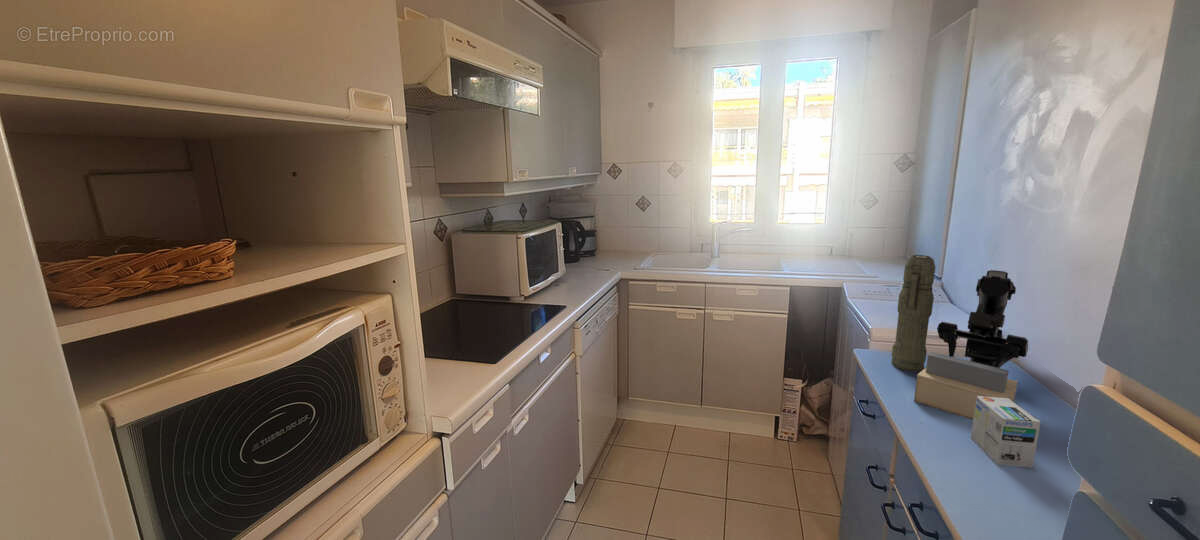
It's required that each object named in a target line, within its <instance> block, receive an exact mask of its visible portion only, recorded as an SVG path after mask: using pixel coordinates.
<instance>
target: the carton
mask: <svg viewBox="0 0 1200 540" xmlns="http://www.w3.org/2000/svg"><path fill="white" fill-rule="evenodd" d="M1018 382H1019V381H1018V380H1014V379H1011V378H1008V379H1007V385H1006V389H1010V390H1011V393H1010V395H1009V396H1008V398H1009V399H1010V400H1011V401H1013V402H1014V403H1015V397H1016V392H1017V387H1018ZM977 396H984V395H981V394H977V393H974V392H970V391H966V390H963V389H959V388H956V387H952V386H948V385H945V384H941V383H938V382H934V381H931V380H927V379H923V378H920V377H917V376H916V382H915V390H914V397H913V399H914V400H913V402H915V403H917V404H918V403H919V404H920V405H921V404H922V405H923V406H928V407H931V408H934V409H938V410H941V411H943V412H947V413H950V414H953V415H957V416H960V417H962V416H963V417H962V418H965V417H966V419H969V420H972V421H973V419H974V413H975V407H976V400H977ZM985 397H988V396H985Z"/></svg>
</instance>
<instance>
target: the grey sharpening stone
mask: <svg viewBox="0 0 1200 540" xmlns="http://www.w3.org/2000/svg"><path fill="white" fill-rule="evenodd" d="M1009 372H1010V371H1009V370H1007V369H1004V368H1001V367H1000V368H996V367H992V366H988V365H984V364H980V363H976V362H971V361H970V360H966V359H963V358H959V357H955V356H954V357H950V356H949V355H947V354H946V355H945V354H942V353H937V352H933V351H931V352H930V353H928V355H927V358H926V367H924V369H923V370H922V371H919V372H918V374H917V376H916V378H917V377H920V378H923V379H927V380H931V381H934V382H938V383H941V384H945V385H948V386H952V387H956V388H959V389H963V390H966V391H970V392H974V393H977V394H981V395H984V396H988V397H997V398H1008V396H1009V395H1010V393H1011V390H1010V389H1006V385H1007V379H1009V378H1008V377H1009Z"/></svg>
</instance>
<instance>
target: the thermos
mask: <svg viewBox="0 0 1200 540" xmlns="http://www.w3.org/2000/svg"><path fill="white" fill-rule="evenodd" d="M935 273H936V264H935V261H934V258H933V257H931V256H929V255H923V254H913V255H910V256H909V257H908V258H907V260H906V262H905V264H904V270H903V277H902V278H903V279H902V281H903V284H902V287H901V290H900V291H899V294H898V299H897V300H898V302H897V309H896V310H897V312H898V317H897V324H896V325H897V326H896V331H895V341H894V344H893V345H892V349H891V363H892V364H891V365H892V366H893V365H894V366H895V367H894V366H893V367H894V368H896V367H897V369H899V370H902V371H907V372H914V373H915V372H918V373H919V372H921V371H922V370H923V369H925V363H926V362H927V353H928V352H927V350H928V349H927V347H926V346H927V345H926V343H927V336H928V329H929V321H930V317H931V316H932V315H933V314H932V313H933V308H934V307H933V306H934V300H935V297H934V293H933V292H934V291H933V284H934V280H935Z"/></svg>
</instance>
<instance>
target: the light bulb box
mask: <svg viewBox="0 0 1200 540" xmlns="http://www.w3.org/2000/svg"><path fill="white" fill-rule="evenodd" d="M1041 423H1042V422H1041V421H1040V420H1039V419H1037V418H1036V417H1035V416H1033V415H1031V414H1030V413H1029V412H1027V411H1026V410H1025V409H1023V408H1022V407H1021V406H1019V405H1018V404H1017V403H1015V401H1014V402H1013V401H1011V400H1010V399H1009V398H997V397H985V396H977V400H976V407H975V413H974V419H973V420H972V427H971V432H970V439H971V440H972V441H974V443H975V444H977V446H978V447H979V448H981V450H982V451H983V452H984V453H985V454H986V455H988V457H989V459H991V460H992V461H993V462H994V463H995V464H996V465H997V466H1009V467H1021V468H1027V469H1028V468H1029V469H1032V468H1034V462H1035V461H1034V460H1035V458H1036V457H1035V456H1036V451H1037V450H1036V449H1037V445H1038V440H1039V435H1040V429H1041Z"/></svg>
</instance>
